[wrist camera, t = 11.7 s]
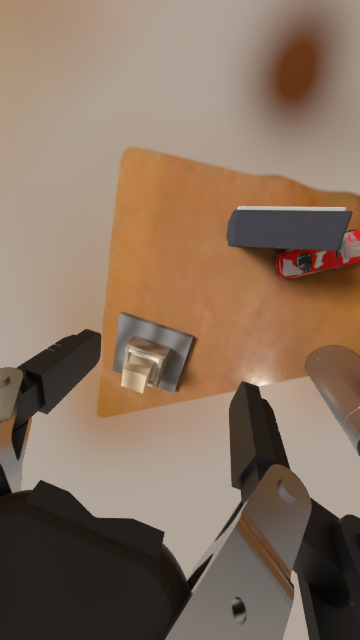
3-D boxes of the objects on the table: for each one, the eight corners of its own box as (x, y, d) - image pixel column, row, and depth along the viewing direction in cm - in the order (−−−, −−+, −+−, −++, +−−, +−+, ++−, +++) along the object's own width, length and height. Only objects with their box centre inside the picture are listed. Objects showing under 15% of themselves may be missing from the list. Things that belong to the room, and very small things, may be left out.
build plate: (193, 335, 43) (189, 350, 37) (175, 389, 51) (169, 408, 45) (122, 311, 44) (107, 322, 39) (115, 367, 52) (102, 383, 47)
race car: (363, 225, 29) (383, 223, 26) (361, 260, 31) (379, 263, 27) (272, 249, 33) (278, 250, 29) (275, 279, 35) (281, 283, 31)
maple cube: (154, 361, 41) (146, 376, 37) (150, 377, 44) (142, 393, 39) (134, 354, 42) (123, 368, 37) (131, 370, 44) (121, 385, 40)
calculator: (298, 217, 30) (359, 201, 17) (290, 245, 32) (340, 251, 18) (229, 215, 32) (234, 200, 19) (225, 242, 34) (228, 246, 20)
